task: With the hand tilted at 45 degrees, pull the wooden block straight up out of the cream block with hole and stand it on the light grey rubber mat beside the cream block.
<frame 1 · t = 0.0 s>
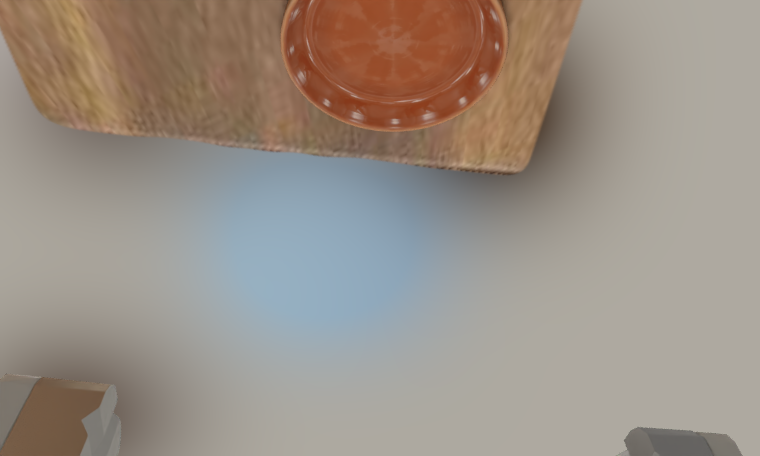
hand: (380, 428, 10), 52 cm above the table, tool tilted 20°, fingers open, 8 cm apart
saucer: (394, 30, 67), on the table
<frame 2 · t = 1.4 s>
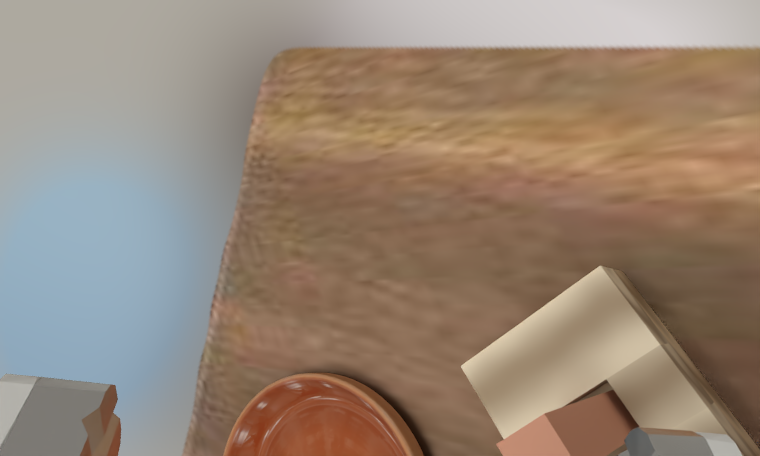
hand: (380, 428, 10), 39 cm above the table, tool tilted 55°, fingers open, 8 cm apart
cream block with hole: (622, 415, 45), on the table
wooden block: (611, 420, 42), point 3 cm above the table, touching cream block with hole
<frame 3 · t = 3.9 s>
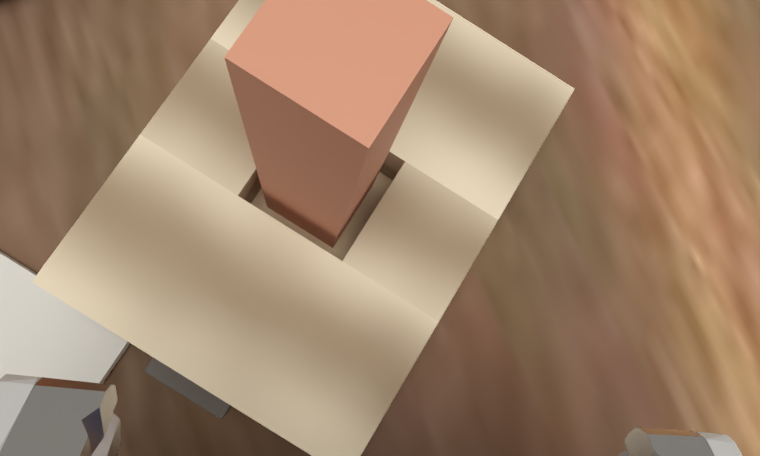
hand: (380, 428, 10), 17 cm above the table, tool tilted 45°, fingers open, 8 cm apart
cream block with hole: (318, 209, 28), on the table
wooden block: (320, 195, 25), point 3 cm above the table, touching cream block with hole
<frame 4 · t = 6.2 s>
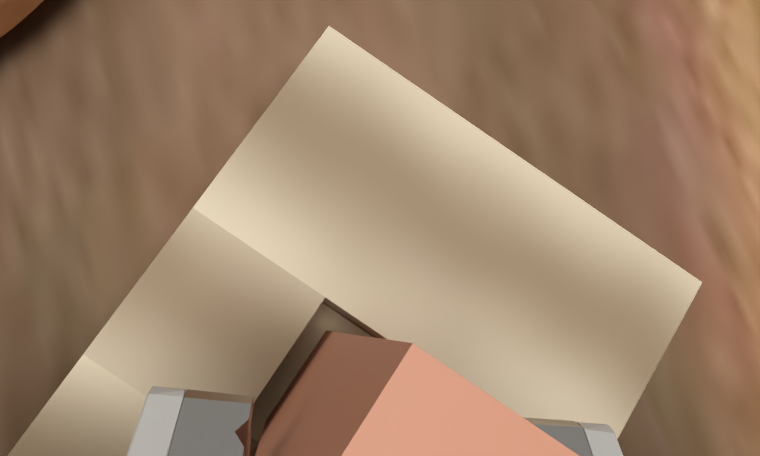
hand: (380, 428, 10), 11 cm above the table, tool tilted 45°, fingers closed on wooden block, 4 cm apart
cream block with hole: (333, 393, 21), on the table
wooden block: (339, 404, 18), point 3 cm above the table, touching gripper, cream block with hole
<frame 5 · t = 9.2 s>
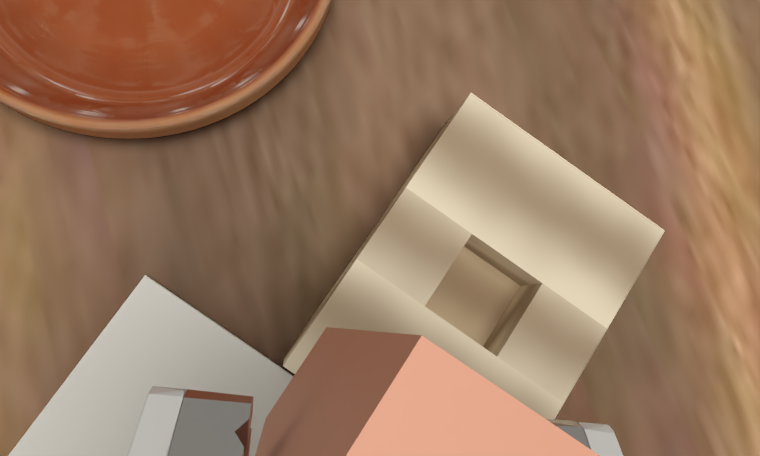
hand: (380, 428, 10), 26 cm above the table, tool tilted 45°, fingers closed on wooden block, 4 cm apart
cream block with hole: (453, 297, 37), on the table
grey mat: (169, 422, 34), on the table
wooden block: (340, 401, 18), point 17 cm above the table, touching gripper
when the fingers open (10 cm above the table, at t = 12.4 s): wooden block drops 1 cm, resting on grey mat.
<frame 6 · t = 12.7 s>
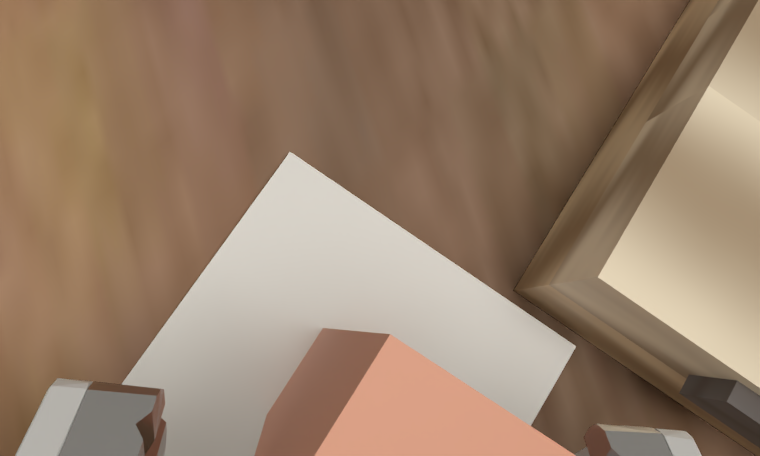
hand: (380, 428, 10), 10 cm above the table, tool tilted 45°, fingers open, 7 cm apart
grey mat: (335, 397, 20), on the table
wooden block: (337, 397, 19), point 1 cm above the table, touching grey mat
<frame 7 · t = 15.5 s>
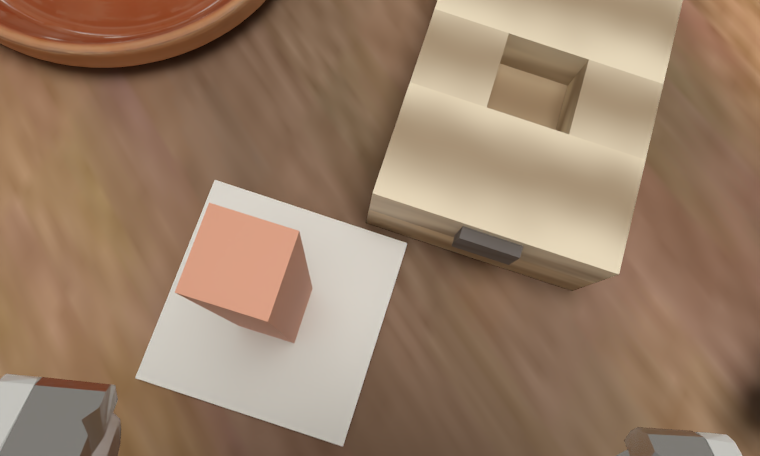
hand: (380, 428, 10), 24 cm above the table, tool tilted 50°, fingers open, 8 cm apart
cream block with hole: (506, 128, 38), on the table
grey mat: (277, 309, 34), on the table
wooden block: (276, 306, 34), point 1 cm above the table, touching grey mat
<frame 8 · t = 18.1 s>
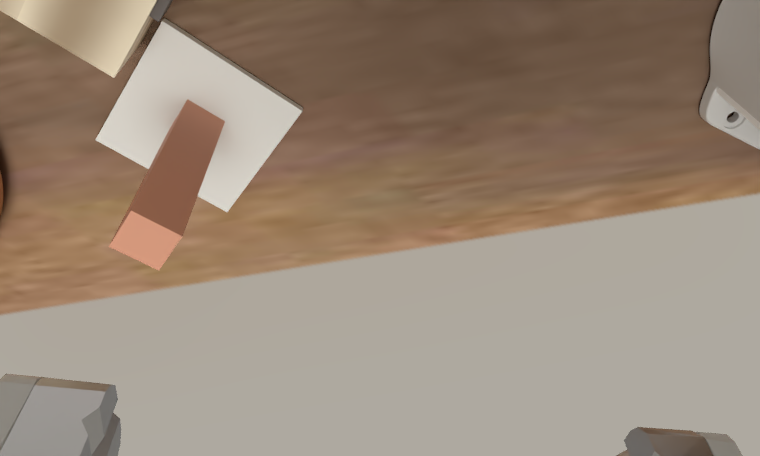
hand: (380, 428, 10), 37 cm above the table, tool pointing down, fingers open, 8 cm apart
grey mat: (199, 122, 48), on the table
wooden block: (196, 125, 47), point 1 cm above the table, touching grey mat
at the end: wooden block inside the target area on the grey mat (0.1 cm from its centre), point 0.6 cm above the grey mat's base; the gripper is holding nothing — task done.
